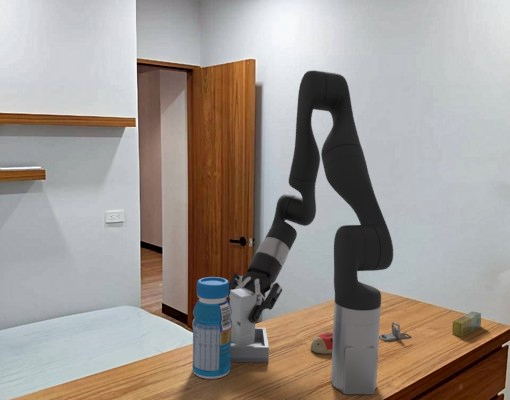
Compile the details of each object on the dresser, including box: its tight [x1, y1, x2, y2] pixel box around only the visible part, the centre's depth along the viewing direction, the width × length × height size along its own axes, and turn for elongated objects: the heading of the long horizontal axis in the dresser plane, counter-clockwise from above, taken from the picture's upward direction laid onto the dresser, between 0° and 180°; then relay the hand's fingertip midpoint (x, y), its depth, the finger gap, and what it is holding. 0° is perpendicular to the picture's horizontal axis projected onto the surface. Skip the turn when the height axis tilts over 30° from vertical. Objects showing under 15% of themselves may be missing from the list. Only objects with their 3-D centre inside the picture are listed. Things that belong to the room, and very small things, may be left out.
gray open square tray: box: [230, 327, 270, 363], centre depth 116 cm, size 12×12×4 cm
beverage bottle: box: [191, 276, 232, 380], centre depth 104 cm, size 8×8×20 cm
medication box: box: [452, 311, 482, 338], centre depth 133 cm, size 12×3×4 cm, turn 133°
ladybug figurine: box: [310, 332, 333, 355], centre depth 119 cm, size 7×10×4 cm
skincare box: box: [230, 288, 257, 346], centre depth 115 cm, size 6×4×12 cm
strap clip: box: [379, 321, 412, 342], centre depth 127 cm, size 8×3×4 cm, turn 111°
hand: (238, 317), depth 114 cm, fingers closed on skincare box, 7 cm apart
